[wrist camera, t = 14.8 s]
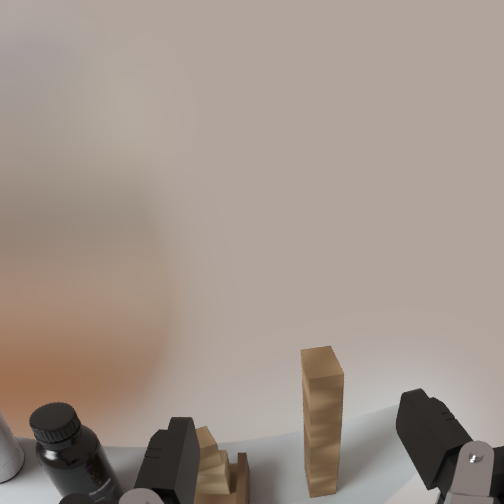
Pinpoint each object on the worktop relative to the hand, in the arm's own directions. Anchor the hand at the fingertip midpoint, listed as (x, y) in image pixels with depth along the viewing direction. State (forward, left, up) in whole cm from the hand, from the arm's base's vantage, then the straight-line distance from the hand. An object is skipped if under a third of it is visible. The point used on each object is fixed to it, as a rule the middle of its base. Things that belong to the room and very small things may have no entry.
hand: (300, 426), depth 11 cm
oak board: (+3, +12, -19) cm, 23 cm away
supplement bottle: (-20, +9, -20) cm, 29 cm away
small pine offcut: (-8, +12, -15) cm, 21 cm away
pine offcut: (-8, +12, -18) cm, 23 cm away
